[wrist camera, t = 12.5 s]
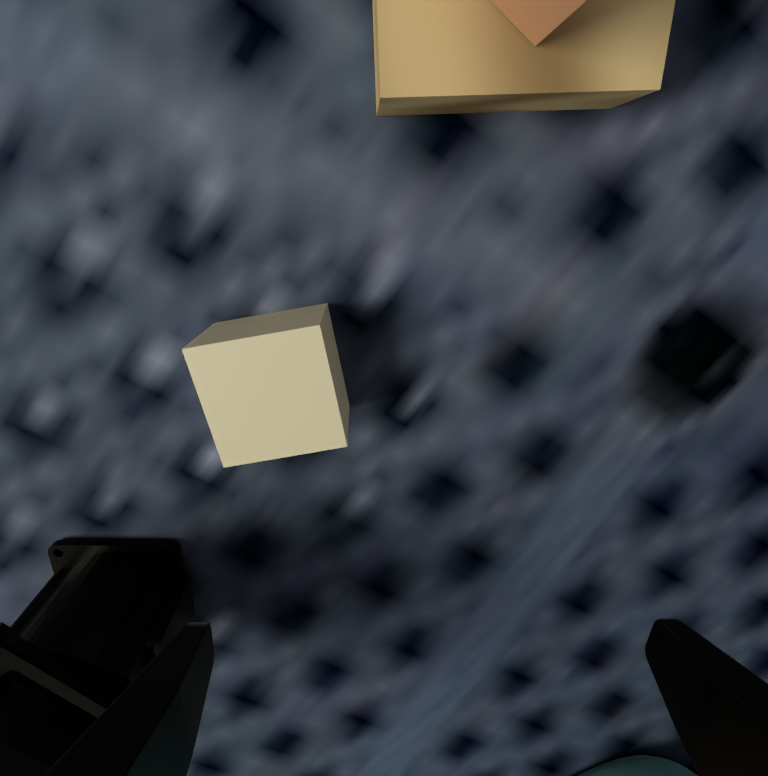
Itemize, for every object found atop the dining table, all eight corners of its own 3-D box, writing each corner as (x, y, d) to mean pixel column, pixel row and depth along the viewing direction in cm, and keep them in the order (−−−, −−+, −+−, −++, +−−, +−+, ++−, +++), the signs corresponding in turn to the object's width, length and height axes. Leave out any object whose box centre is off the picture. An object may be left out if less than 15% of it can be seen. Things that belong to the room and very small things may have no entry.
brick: (247, 422, 21) (223, 467, 18) (215, 322, 20) (181, 349, 16) (349, 405, 21) (347, 446, 18) (327, 302, 19) (319, 324, 16)
